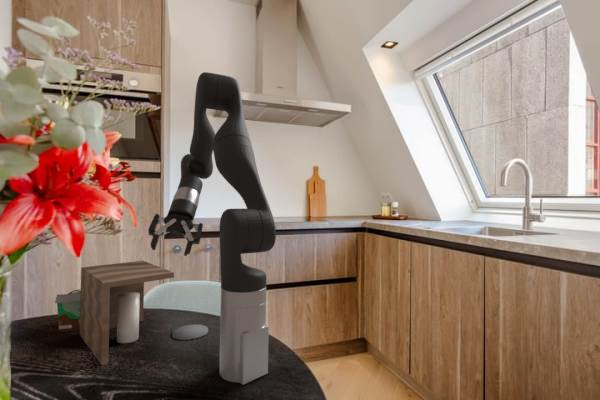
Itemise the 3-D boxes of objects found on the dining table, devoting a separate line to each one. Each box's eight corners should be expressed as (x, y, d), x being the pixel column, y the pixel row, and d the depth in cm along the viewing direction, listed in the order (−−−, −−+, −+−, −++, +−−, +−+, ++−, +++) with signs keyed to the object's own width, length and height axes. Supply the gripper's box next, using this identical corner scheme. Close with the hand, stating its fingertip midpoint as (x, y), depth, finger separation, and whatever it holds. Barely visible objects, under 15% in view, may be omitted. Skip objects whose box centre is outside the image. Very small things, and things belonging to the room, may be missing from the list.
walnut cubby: (172, 343, 77) (174, 272, 77) (101, 365, 66) (103, 282, 66) (141, 319, 92) (142, 260, 92) (79, 334, 81) (81, 267, 81)
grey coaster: (214, 333, 83) (214, 331, 83) (181, 343, 77) (181, 341, 77) (198, 323, 90) (198, 321, 90) (166, 332, 83) (166, 330, 83)
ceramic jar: (141, 339, 79) (142, 295, 79) (120, 345, 76) (121, 299, 76) (135, 333, 82) (135, 291, 82) (114, 338, 79) (115, 294, 79)
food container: (77, 334, 81) (78, 295, 81) (54, 334, 81) (55, 295, 81) (108, 317, 94) (108, 283, 94) (87, 317, 94) (88, 283, 94)
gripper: (160, 192, 93) (141, 240, 83) (209, 203, 97) (197, 250, 87) (160, 206, 99) (143, 253, 89) (206, 216, 102) (194, 262, 93)
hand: (169, 251), depth 88 cm, fingers open, 8 cm apart
